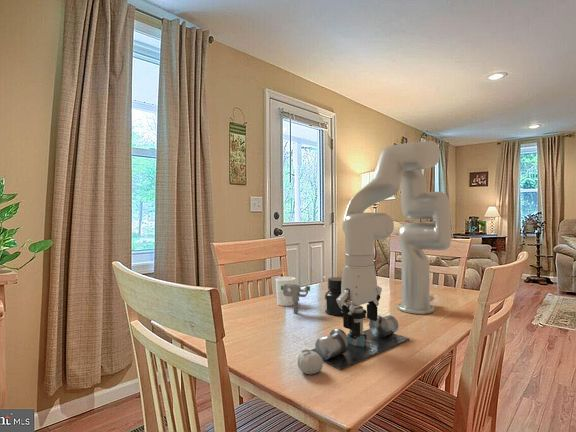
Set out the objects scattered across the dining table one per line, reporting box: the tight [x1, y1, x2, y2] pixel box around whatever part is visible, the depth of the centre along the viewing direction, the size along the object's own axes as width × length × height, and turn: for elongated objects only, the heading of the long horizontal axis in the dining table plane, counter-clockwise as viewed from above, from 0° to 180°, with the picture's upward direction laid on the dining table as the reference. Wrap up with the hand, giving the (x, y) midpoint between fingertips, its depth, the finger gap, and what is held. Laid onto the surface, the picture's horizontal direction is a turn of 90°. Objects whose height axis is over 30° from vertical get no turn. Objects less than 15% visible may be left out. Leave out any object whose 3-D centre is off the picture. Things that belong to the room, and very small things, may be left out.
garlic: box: [297, 348, 324, 375], centre depth 78 cm, size 6×5×5 cm
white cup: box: [275, 276, 297, 307], centre depth 135 cm, size 8×8×10 cm
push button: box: [346, 305, 372, 347], centre depth 92 cm, size 7×5×10 cm
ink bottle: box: [324, 276, 350, 317], centre depth 123 cm, size 10×9×12 cm
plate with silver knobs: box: [308, 315, 410, 371], centre depth 92 cm, size 28×12×6 cm, turn 129°
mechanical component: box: [281, 283, 311, 315], centre depth 122 cm, size 3×10×10 cm, turn 79°
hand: (360, 323), depth 92 cm, fingers open, 9 cm apart
